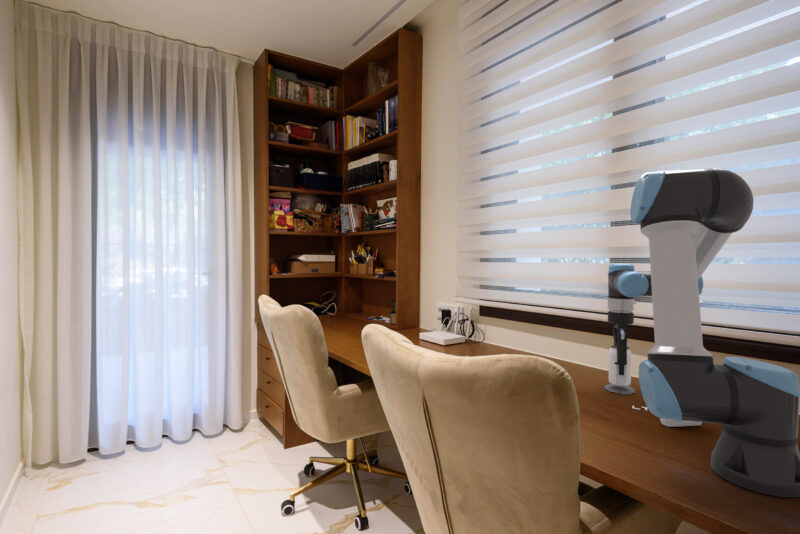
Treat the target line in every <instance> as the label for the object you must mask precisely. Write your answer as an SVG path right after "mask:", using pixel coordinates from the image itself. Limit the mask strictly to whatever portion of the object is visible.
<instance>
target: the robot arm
mask: <svg viewBox="0 0 800 534" xmlns="http://www.w3.org/2000/svg"><path fill="white" fill-rule="evenodd" d="M753 195H754V194H753V192H752V189H751V187H750V186H749V184H748V183H747V182H746V181H745V179H744V178H743V177H742V176H740V175H738V174H737V173H736V172H733V171H731V170H728V169H723V168H715V167H714V168H707V169H706V168H705V169H684V170H683V169H681V170H665V169H663V170H660V171H651V172H644V174H642V175H641V176H640V177H639V178H638V180H637V182H636V184H635V186H634V190H633V192H632V197H631V200H630V201H631V203H630V211H629V212H630V214H629V215H630V220H631V222H632V223H633V224H636V225H640V226H639V227H640V234H642V235H643V236H645V237H646V238H647V239H648V247H649V248H648V250H649V263H650V271H646V270H645V271H642V270H641V271H639V270H638V271H637V270H635V265H634V264H633V263H611V264H609V265H608V270H607V271H608V273H607V280H608V281H607V283H608V284H607V287H608V288H607V310H609V311H608V312H607V322H608V323H609V324H612V325H613V324H614V326H613V328H612V332H613V346H614V345H616V346H617V362H615V363H614V364H616V384H617V385H626V365H627V347H628V334H629V330H628V329H627V328H626V326H627V325H629V326H630V325H633V324H634V321H635V320H634V319H635V318H634V317H635V313H634V312H633V311H634V305H636V304H637V302H636V300H635V298H640V297H651V301H652V313H653V314H652V315H653V316H652V317H653V331H654V332H653V333H654V334H653V335H654V336H653V337H654V345H653V347H651V348H650V350H648V351H647V359H644V360H642V361H640V363H639V364H638V382H639V387H640V392H641V396H642V398H643V401H644V402H645V405H646V407H648V408H647V410H649V411H650V413H651V414H652V415H654V416H655V417H656V418H659V419H660V418H665V419H672V420H676V421H681V420H683V421H696V422H702V423H709V424H710V423H711V424H722V426H721V433H720V435H719V437H718V439H717V441H716V443H715V445H714V447H713V450H712V452H711V455H710V456H711V457H710V468H711V469H712V470H713V472H714V473H715V474H716V475H717V476H719V477H721V478H722V479H724V480H726V482H727V481H728V482H729V483H731V484H734V485H735V486H737V487H740V488H744V489H746V490H749V491H752V492H755V493H759V494H764V495H767V496H774V497H779V498H780V497H781V498H800V450H799V445H798V443H799V419H800V417H799V415H800V413H799V412H800V380H799V378H798V375H797V374H796V373H795V372H794V371H792V370H791V369H788V368H786V367H783V366H779V365H777V364H773V363H769V362H765V361H762V360H758V359H757V360H756V359H752V358H748V357H741V356H726V357H724V359H723V360H722V364H714V355H713V354H712V353H711V352H710V351H709V350H707V349H706V348H705V347H704V344H703V343H704V342H703V330H702V316H701V306H700V305H701V303H700V296H701V294H702V293H703V288H704V280H703V277H702V275H703V274H704V273H705V271H706V270H707V268H708V267H709V266H710V264H711V263H712V262H713V260H714V259H715V257H716V256H717V254H718V253H719V252H720V251H721V249H722V248H723V247H724V245H725V243H726V242H727V241H728V239H730V237H731V236H732V234H734V233H737V232H739V231H740V230H742V229H743V228H744V227H745V226H746V224H747V222H748V221H749V219H750V218H751V216H752V213H753V210H754V196H753Z"/></svg>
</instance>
